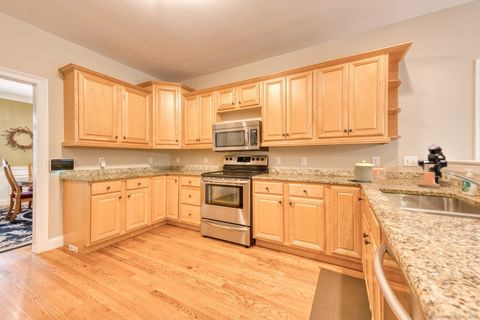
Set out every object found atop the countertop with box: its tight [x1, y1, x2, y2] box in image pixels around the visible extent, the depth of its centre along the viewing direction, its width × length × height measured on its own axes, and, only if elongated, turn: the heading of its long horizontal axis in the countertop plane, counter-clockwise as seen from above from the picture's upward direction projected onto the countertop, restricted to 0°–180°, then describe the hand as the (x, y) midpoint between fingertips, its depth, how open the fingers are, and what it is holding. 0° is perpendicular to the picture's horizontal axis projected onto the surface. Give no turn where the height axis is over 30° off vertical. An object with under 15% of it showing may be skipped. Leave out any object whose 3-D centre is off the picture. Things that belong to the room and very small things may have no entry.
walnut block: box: [417, 182, 442, 190], centre depth 172 cm, size 12×12×3 cm
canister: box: [353, 160, 375, 183], centre depth 208 cm, size 18×18×21 cm
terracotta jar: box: [421, 171, 436, 185], centre depth 171 cm, size 7×7×10 cm
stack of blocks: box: [371, 167, 387, 181], centre depth 224 cm, size 21×6×12 cm, turn 78°
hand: (430, 170), depth 178 cm, fingers open, 9 cm apart
